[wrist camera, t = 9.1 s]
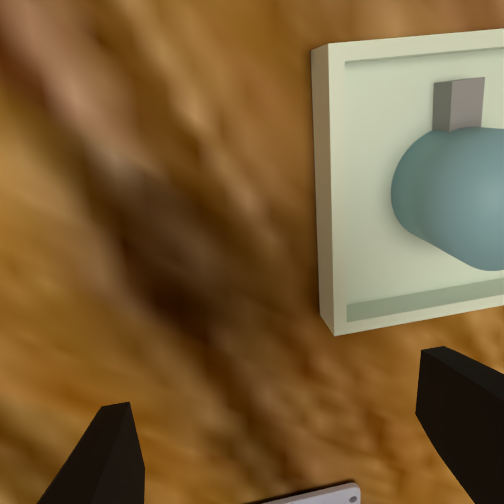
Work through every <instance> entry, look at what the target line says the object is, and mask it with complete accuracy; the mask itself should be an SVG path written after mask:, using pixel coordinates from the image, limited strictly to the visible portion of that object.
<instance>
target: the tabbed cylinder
mask: <svg viewBox="0 0 504 504" xmlns="http://www.w3.org/2000/svg"><path fill="white" fill-rule="evenodd" d="M484 85H485V77H478V78H466V79H458V80H451V81H444V82H437V83H434V92H433V118H432V131H430V132H428V133H426V134H424V135H423V136H422V137H420V138H419V139H418V140H416V141H415V142H414V143H413V144H412V145H411V146H410V147H409V148H408V150H407V151H406V152H405V154H404V155H403V156H402V158H401V160H400V161H399V163H398V165H397V168H396V170H395V173H394V176H393V179H392V185H391V203H392V208H393V211H394V214H395V216H396V218H397V220H398V221H399V222H400V224H401V225H402V226H403V227H404V228H405V229H406V230H407V231H409V232H410V233H412V234H414V235H415V236H417V237H419V238H421V239H422V240H424V241H426V242H428V243H430V244H431V245H433V246H435V247H437V248H439V249H440V250H442V251H444V252H446V253H448V254H449V255H451V256H453V257H455V258H457V259H458V260H460V261H462V262H464V263H466V264H467V265H469V266H471V267H473V268H476V269H479V270H485V271H500V270H504V129H499V128H486V127H481V122H482V109H483V97H484Z"/></svg>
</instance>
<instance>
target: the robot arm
mask: <svg viewBox="0 0 504 504" xmlns="http://www.w3.org/2000/svg"><path fill="white" fill-rule="evenodd" d="M415 414H416V416H417V418H418V420H419V421H420V423H421V425H422V427H423V429H424V430H425V432H426V434H427V436H428V438H429V439H430V441H431V443H432V444H433V446H434V448H435V449H436V451H437V453H438V454H439V455H440V457H441V458H442V460H443V461H444V462H445V464H446V465H447V466H448V468H449V469H450V471H451V472H452V473H453V475H454V476H455V477H456V479H457V480H458V481H459V483H460V484H461V486H462V487H463V488H464V490H465V491H466V492H467V494H468V495H469V496H470V498H471V499H472V500H473V502H474V503H475V504H504V374H502V373H500V372H498V371H496V370H494V369H492V368H490V367H488V366H486V365H484V364H482V363H480V362H478V361H476V360H473V359H471V358H469V357H467V356H465V355H463V354H461V353H459V352H456V351H454V350H452V349H449V348H447V347H445V346H441V347H435V348H430V349H424V350H421V358H420V369H419V380H418V391H417V401H416V412H415ZM144 486H145V466H144V462H143V458H142V453H141V449H140V445H139V440H138V436H137V432H136V428H135V423H134V419H133V415H132V410H131V406H130V402H125V403H119V404H113V405H108V406H102V407H101V408H100V410H99V411H98V412H97V414H96V415H95V417H94V419H93V420H92V422H91V423H90V425H89V426H88V428H87V430H86V431H85V433H84V434H83V436H82V438H81V439H80V441H79V442H78V444H77V445H76V447H75V448H74V450H73V451H72V453H71V454H70V456H69V458H68V459H67V461H66V462H65V464H64V465H63V466H62V468H61V469H60V471H59V472H58V474H57V475H56V477H55V478H54V480H53V481H52V482H51V484H50V485H49V487H48V488H47V490H46V491H45V493H44V494H43V495H42V497H41V498H40V500H39V501H38V502H37V504H144ZM262 504H360V488H359V486H358V485H357V484H356V483H347V484H343V485H339V486H335V487H330V488H326V489H322V490H318V491H313V492H309V493H305V494H301V495H296V496H292V497H288V498H283V499H279V500H275V501H271V502H266V503H262Z"/></svg>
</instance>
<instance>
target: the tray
mask: <svg viewBox="0 0 504 504" xmlns="http://www.w3.org/2000/svg"><path fill="white" fill-rule="evenodd" d="M311 77H312V105H313V133H314V162H315V190H316V218H317V246H318V275H319V303H320V316H321V317H322V319H323V320H324V322H325V323H326V325H327V326H328V328H329V329H330V331H331V332H332V334H333V335H334V336H338V335H344V334H349V333H355V332H360V331H366V330H371V329H376V328H382V327H387V326H393V325H398V324H404V323H409V322H415V321H420V320H425V319H431V318H436V317H442V316H447V315H453V314H458V313H463V312H469V311H474V310H480V309H485V308H491V307H496V306H502V305H504V270H500V271H485V270H479V269H476V268H473V267H471V266H469V265H467V264H466V263H464V262H462V261H460V260H458V259H457V258H455V257H453V256H451V255H449V254H448V253H446V252H444V251H442V250H440V249H439V248H437V247H435V246H433V245H431V244H430V243H428V242H426V241H424V240H422V239H421V238H419V237H417V236H415V235H414V234H412V233H410V232H409V231H407V230H406V229H405V228H404V227H403V226H402V225H401V224H400V222H399V221H398V220H397V218H396V216H395V214H394V211H393V208H392V203H391V185H392V179H393V176H394V173H395V170H396V168H397V165H398V163H399V161H400V160H401V158H402V156H403V155H404V154H405V152H406V151H407V150H408V148H409V147H410V146H411V145H412V144H413V143H414V142H415V141H416V140H418V139H419V138H420V137H422V136H423V135H424V134H426V133H428V132H430V131H432V118H433V92H434V83H437V82H444V81H451V80H458V79H466V78H478V77H485V85H484V97H483V109H482V122H481V127H486V128H499V129H504V29H494V30H482V31H470V32H459V33H447V34H435V35H423V36H412V37H400V38H388V39H377V40H365V41H353V42H341V43H330V44H326V45H323V46H321V47H318V48H316V49H313V50H311Z"/></svg>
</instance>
